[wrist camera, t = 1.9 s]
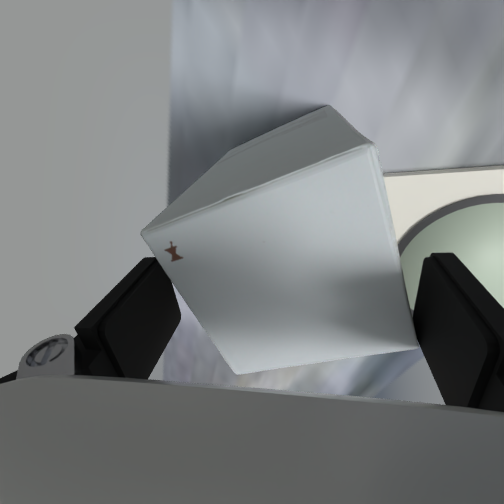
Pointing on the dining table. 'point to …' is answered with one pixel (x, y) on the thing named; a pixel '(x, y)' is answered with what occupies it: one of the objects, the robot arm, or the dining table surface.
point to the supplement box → (290, 249)
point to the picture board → (450, 222)
